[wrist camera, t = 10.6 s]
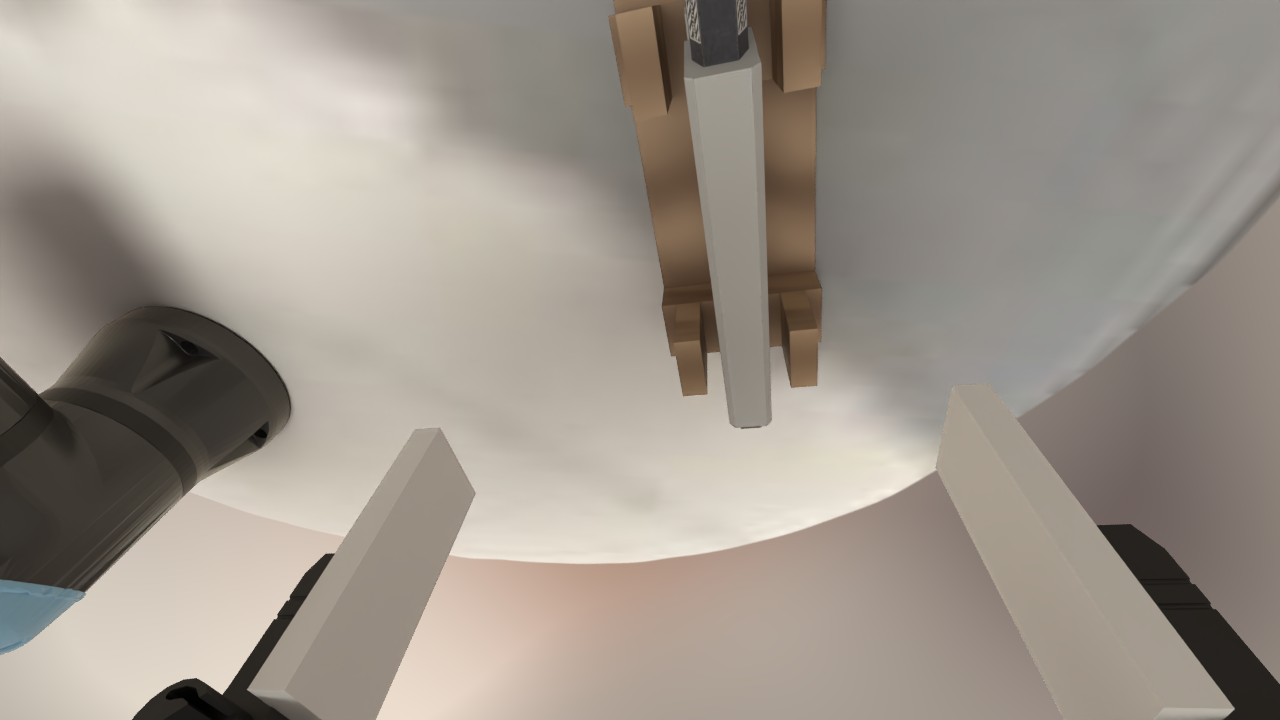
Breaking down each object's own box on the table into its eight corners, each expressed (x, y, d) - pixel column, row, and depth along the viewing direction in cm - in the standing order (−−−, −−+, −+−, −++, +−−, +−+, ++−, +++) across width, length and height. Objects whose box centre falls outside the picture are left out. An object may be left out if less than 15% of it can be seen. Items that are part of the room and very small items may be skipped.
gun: (733, -138, 20) (757, -100, 13) (757, 320, 38) (772, 432, 32) (670, -121, 20) (663, -76, 14) (723, 323, 39) (731, 435, 32)
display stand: (811, 326, 37) (834, 397, 31) (675, 340, 39) (669, 409, 33) (813, -56, 25) (851, -74, 18) (614, -9, 27) (585, -10, 20)
